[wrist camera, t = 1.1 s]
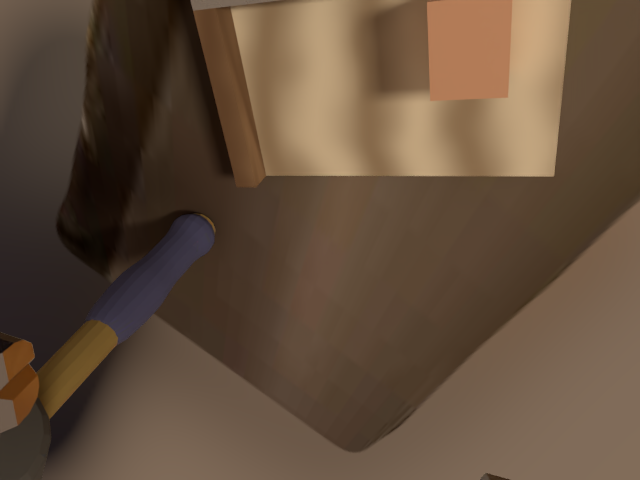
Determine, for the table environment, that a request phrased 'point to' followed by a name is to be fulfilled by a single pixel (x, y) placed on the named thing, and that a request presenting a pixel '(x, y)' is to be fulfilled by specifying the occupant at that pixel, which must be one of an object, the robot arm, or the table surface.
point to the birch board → (375, 92)
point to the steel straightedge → (222, 3)
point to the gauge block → (469, 48)
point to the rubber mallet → (102, 339)
